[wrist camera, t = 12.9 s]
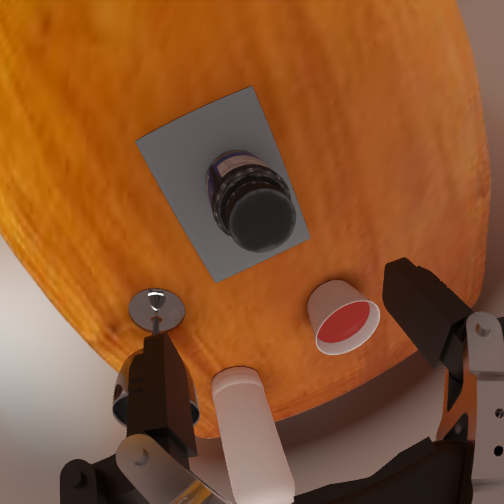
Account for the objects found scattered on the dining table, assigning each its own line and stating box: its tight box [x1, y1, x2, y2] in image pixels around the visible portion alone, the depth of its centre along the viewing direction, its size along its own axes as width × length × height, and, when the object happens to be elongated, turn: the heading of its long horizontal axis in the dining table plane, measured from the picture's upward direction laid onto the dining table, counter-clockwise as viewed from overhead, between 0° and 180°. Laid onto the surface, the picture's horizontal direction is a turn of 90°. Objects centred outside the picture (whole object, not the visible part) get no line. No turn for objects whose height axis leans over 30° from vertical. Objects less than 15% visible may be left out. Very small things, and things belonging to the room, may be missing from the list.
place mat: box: [135, 86, 310, 283], centre depth 31 cm, size 18×12×1 cm, turn 22°
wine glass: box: [113, 288, 200, 428], centre depth 30 cm, size 8×8×15 cm
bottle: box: [211, 367, 295, 504], centre depth 33 cm, size 8×8×30 cm
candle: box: [307, 280, 380, 355], centre depth 39 cm, size 9×9×6 cm
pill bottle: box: [205, 150, 296, 253], centre depth 25 cm, size 6×6×11 cm
